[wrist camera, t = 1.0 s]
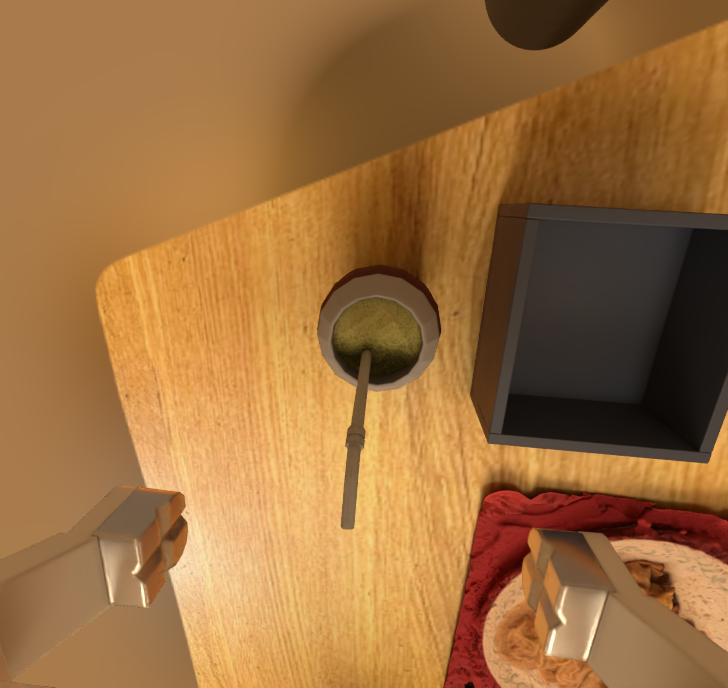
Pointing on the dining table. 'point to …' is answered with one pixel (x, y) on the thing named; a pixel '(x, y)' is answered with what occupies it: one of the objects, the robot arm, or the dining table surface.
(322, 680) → the dining table surface
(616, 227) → the dark grey open box
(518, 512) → the plate with food
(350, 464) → the mate gourd
